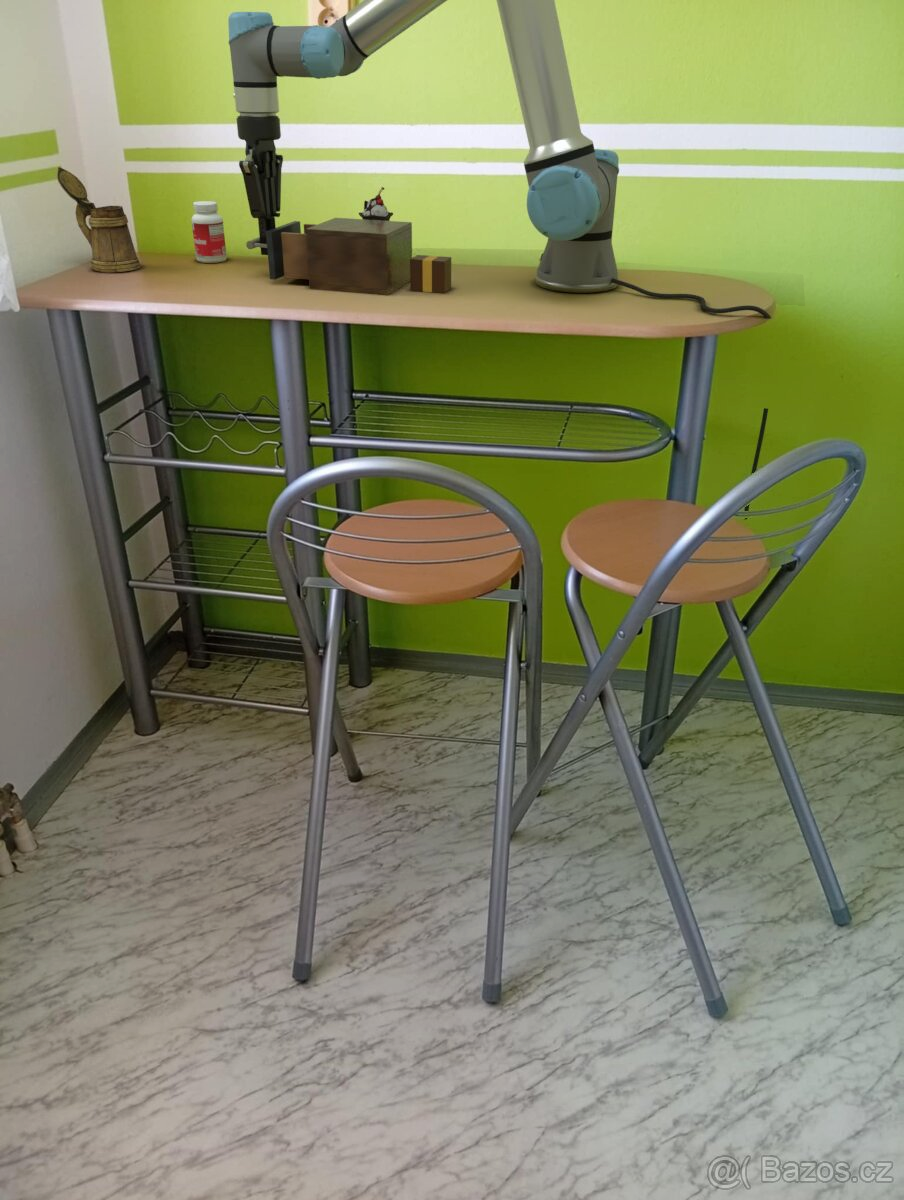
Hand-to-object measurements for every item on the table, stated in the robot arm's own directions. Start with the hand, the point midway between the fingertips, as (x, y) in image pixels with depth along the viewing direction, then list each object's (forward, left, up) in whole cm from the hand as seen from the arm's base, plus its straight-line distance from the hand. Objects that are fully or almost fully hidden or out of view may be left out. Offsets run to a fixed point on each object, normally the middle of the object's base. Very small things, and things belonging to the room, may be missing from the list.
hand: (269, 254), depth 179 cm
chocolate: (-32, 0, -4) cm, 32 cm away
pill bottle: (+18, -10, -4) cm, 21 cm away
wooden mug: (+34, +3, -4) cm, 35 cm away
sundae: (-16, -15, -4) cm, 22 cm away
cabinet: (-19, 0, -4) cm, 19 cm away
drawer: (-7, 0, -3) cm, 8 cm away
